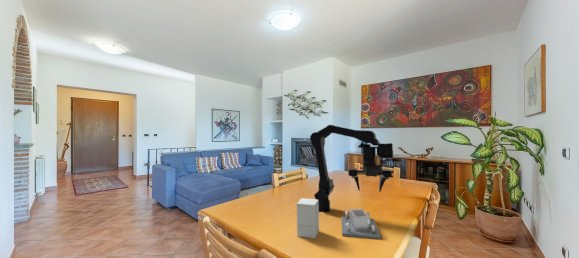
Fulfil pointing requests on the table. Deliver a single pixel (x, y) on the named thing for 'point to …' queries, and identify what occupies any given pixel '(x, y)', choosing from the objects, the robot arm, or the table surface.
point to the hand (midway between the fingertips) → (369, 191)
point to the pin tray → (349, 231)
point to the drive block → (359, 220)
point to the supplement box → (308, 218)
